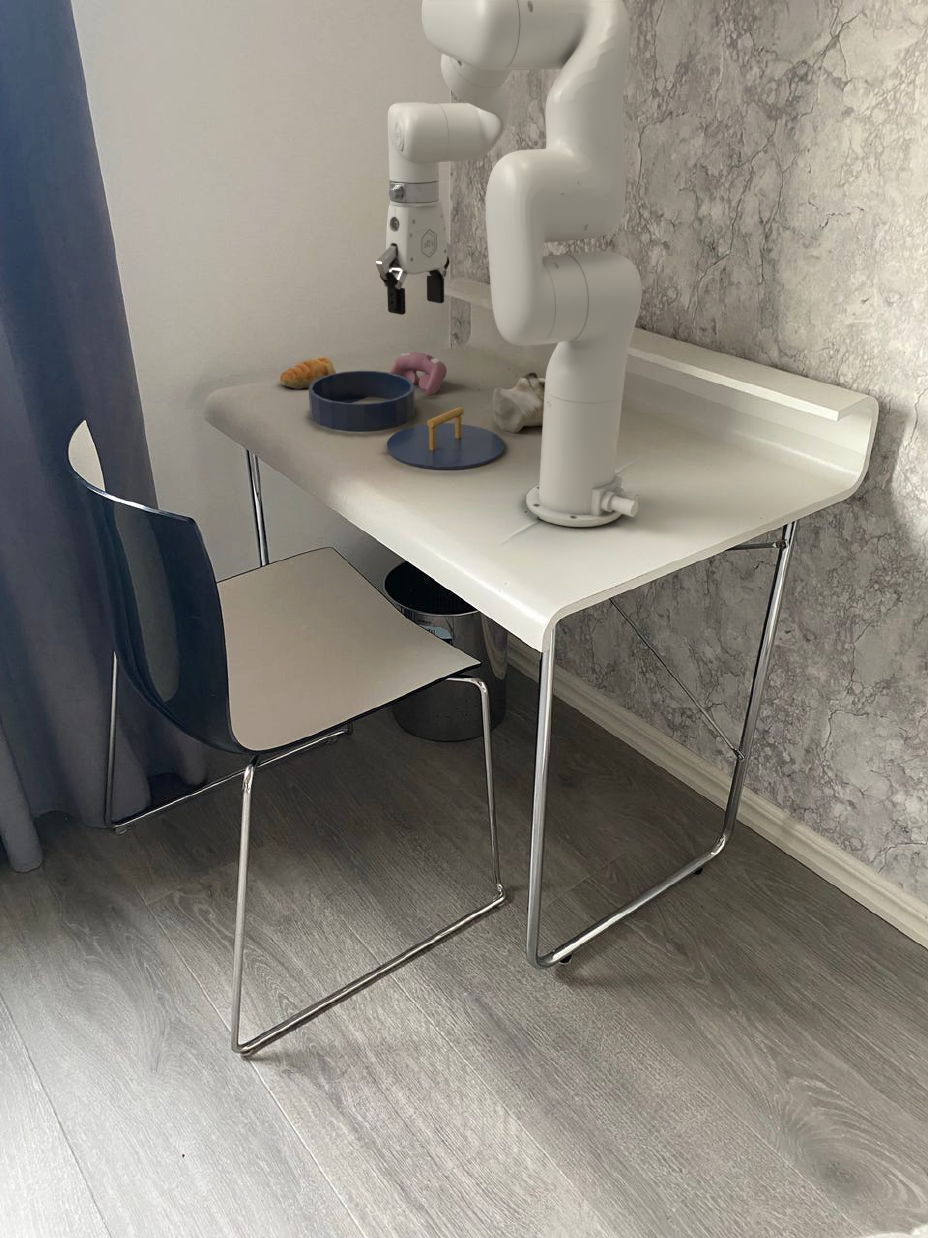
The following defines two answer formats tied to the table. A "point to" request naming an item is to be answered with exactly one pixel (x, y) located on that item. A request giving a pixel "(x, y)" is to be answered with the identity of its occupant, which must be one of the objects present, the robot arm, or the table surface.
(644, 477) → the table surface
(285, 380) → the pastry
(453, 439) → the lid
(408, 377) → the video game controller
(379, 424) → the tin
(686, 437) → the table surface
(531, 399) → the ceramic sculpture
